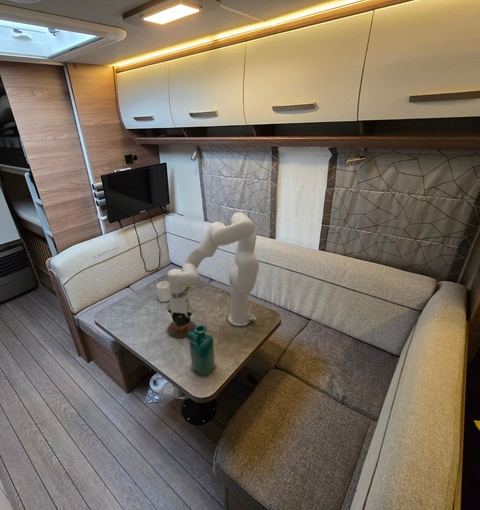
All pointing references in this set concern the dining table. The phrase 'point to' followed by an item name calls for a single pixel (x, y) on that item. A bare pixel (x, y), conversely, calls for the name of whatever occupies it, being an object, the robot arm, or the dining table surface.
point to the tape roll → (180, 319)
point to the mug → (163, 291)
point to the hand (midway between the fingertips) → (181, 321)
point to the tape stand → (180, 329)
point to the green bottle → (201, 350)
